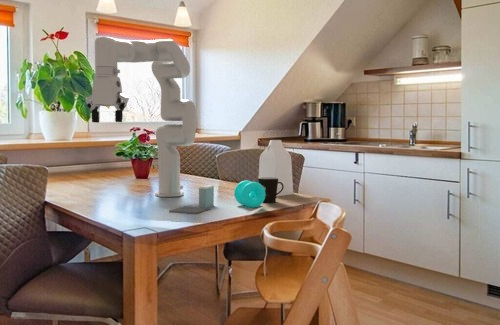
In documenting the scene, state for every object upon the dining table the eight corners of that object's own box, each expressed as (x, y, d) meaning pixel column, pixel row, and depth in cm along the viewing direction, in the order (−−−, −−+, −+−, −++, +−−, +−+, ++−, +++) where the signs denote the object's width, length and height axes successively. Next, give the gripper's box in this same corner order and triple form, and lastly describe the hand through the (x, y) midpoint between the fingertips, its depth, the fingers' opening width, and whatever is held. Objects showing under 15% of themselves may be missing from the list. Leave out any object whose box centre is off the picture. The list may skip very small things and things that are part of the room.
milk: (274, 197, 213) (275, 140, 212) (257, 195, 222) (257, 140, 220) (293, 195, 221) (293, 140, 219) (276, 193, 229) (276, 140, 228)
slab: (206, 205, 189) (207, 185, 189) (213, 205, 188) (213, 185, 188) (198, 207, 183) (198, 186, 182) (205, 208, 182) (205, 187, 181)
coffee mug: (254, 201, 202) (254, 177, 201) (272, 200, 205) (272, 177, 205) (266, 204, 191) (266, 179, 191) (285, 203, 195) (285, 179, 194)
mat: (184, 207, 182) (184, 206, 182) (210, 209, 179) (210, 207, 179) (169, 212, 171) (169, 210, 171) (196, 213, 167) (196, 212, 167)
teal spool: (242, 208, 180) (242, 182, 179) (233, 205, 189) (233, 180, 188) (266, 207, 184) (266, 181, 183) (256, 204, 193) (256, 179, 192)
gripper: (133, 73, 167) (134, 122, 168) (92, 75, 173) (93, 122, 173) (121, 70, 160) (121, 121, 161) (78, 73, 166) (79, 122, 166)
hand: (107, 122), depth 167 cm, fingers open, 9 cm apart
